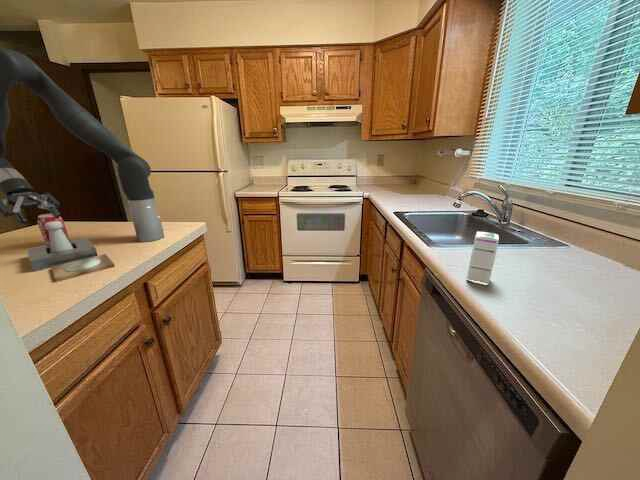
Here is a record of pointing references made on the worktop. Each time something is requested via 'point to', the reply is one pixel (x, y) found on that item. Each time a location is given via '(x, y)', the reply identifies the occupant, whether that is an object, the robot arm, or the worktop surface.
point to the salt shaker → (57, 237)
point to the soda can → (45, 233)
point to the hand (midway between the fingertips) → (42, 220)
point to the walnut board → (81, 267)
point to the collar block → (60, 254)
